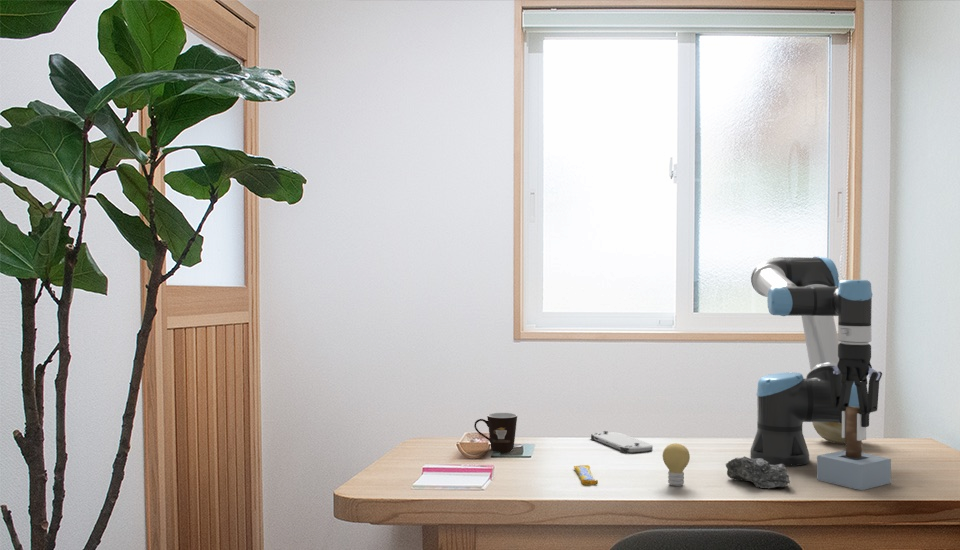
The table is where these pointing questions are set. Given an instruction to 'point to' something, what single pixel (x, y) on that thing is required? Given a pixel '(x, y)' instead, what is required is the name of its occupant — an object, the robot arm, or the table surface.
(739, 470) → the rock
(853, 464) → the socket
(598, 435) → the handheld gaming console
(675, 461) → the light bulb
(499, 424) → the coffee mug
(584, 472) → the candy bar
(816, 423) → the decorative ball
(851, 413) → the peg
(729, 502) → the table surface
